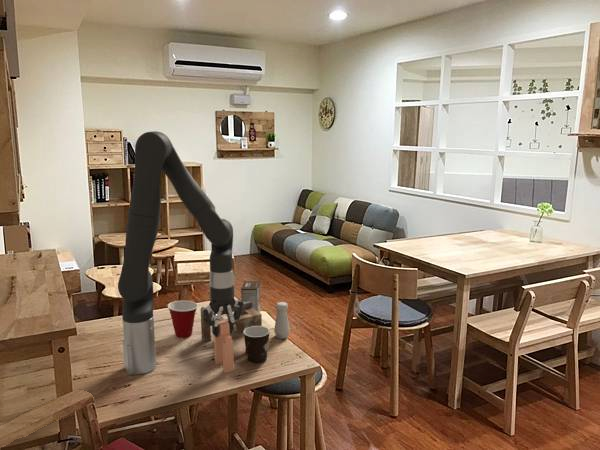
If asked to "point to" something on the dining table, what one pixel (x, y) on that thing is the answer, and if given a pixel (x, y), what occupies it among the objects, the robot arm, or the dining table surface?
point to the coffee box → (251, 296)
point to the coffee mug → (256, 343)
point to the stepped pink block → (224, 347)
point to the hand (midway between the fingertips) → (223, 334)
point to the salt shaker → (281, 321)
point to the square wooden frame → (240, 324)
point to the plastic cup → (183, 317)
